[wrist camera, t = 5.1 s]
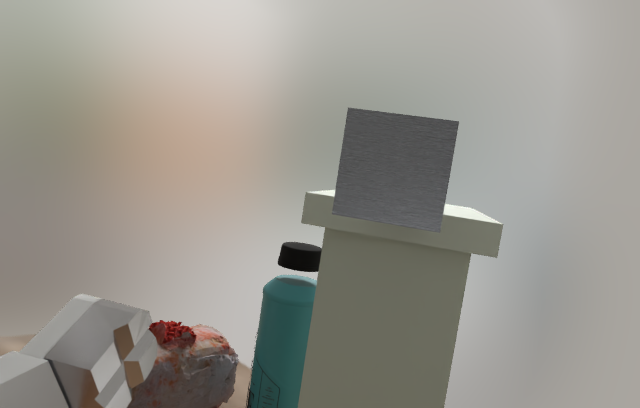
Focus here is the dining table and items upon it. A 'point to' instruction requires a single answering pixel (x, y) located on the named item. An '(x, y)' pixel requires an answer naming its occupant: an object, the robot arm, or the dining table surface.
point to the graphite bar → (395, 169)
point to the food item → (187, 369)
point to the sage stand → (387, 307)
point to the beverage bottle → (284, 330)
